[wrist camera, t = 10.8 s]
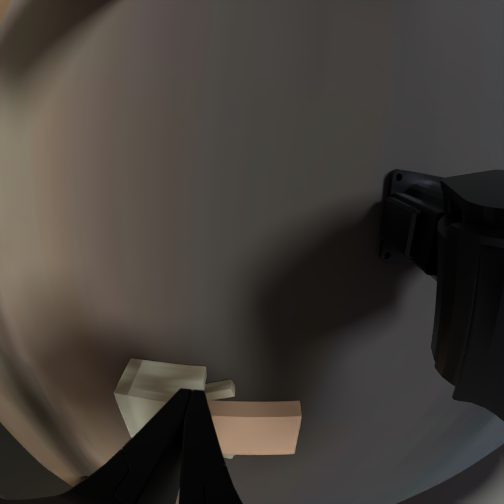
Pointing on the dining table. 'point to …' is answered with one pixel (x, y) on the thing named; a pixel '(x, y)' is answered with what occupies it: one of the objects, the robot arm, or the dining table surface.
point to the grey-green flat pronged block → (161, 389)
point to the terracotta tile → (256, 426)
